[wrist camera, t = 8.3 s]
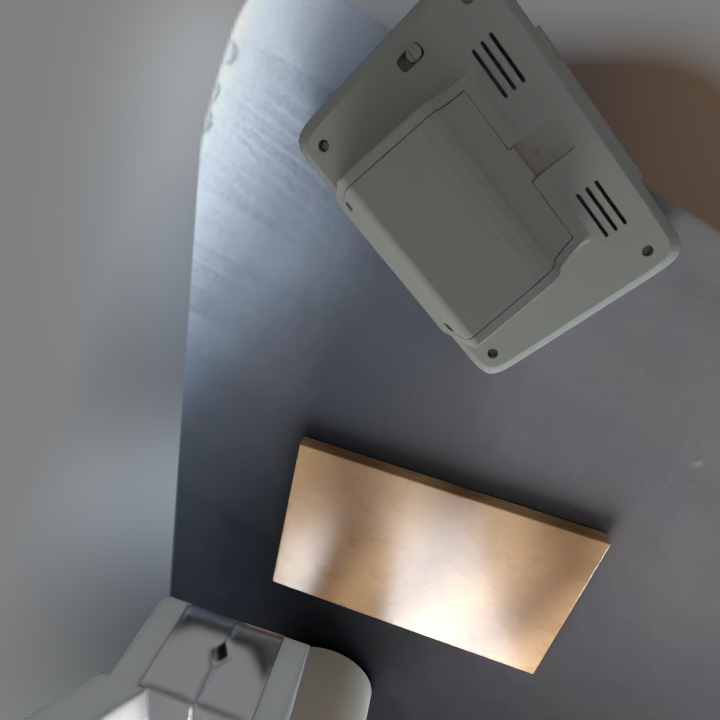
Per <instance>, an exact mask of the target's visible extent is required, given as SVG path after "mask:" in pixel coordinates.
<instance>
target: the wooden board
mask: <svg viewBox="0 0 720 720" xmlns="http://www.w3.org/2000/svg"><path fill="white" fill-rule="evenodd" d="M610 545H611V543H610V540H609V537H608V534H607V533H604V532H601V531H598V530H595V529H592V528H589V527H586V526H582V525H579V524H576V523H573V522H570V521H567V520H564V519H561V518H557V517H554V516H551V515H548V514H545V513H542V512H539V511H536V510H533V509H529V508H526V507H523V506H520V505H517V504H514V503H511V502H508V501H504V500H501V499H498V498H495V497H492V496H489V495H486V494H483V493H479V492H476V491H473V490H470V489H467V488H464V487H461V486H458V485H455V484H451V483H448V482H445V481H442V480H439V479H436V478H433V477H430V476H426V475H423V474H420V473H417V472H414V471H411V470H408V469H405V468H401V467H398V466H395V465H392V464H389V463H386V462H383V461H380V460H377V459H373V458H370V457H367V456H364V455H361V454H358V453H355V452H352V451H348V450H345V449H342V448H339V447H336V446H333V445H330V444H327V443H323V442H320V441H317V440H314V439H311V438H308V437H304V438H303V440H302V441H301V443H300V445H299V450H298V455H297V460H296V466H295V471H294V476H293V481H292V486H291V491H290V496H289V501H288V506H287V511H286V516H285V521H284V526H283V531H282V536H281V541H280V546H279V551H278V556H277V561H276V566H275V571H274V576H273V581H274V582H276V583H279V584H282V585H285V586H288V587H290V588H293V589H296V590H299V591H302V592H304V593H307V594H310V595H313V596H316V597H318V598H321V599H324V600H327V601H330V602H332V603H335V604H338V605H341V606H344V607H346V608H349V609H352V610H355V611H358V612H360V613H363V614H366V615H369V616H372V617H374V618H377V619H380V620H383V621H386V622H388V623H391V624H394V625H397V626H400V627H403V628H405V629H408V630H411V631H414V632H417V633H419V634H422V635H425V636H428V637H431V638H433V639H436V640H439V641H442V642H445V643H447V644H450V645H453V646H456V647H459V648H461V649H464V650H467V651H470V652H473V653H475V654H478V655H481V656H484V657H487V658H489V659H492V660H495V661H498V662H501V663H503V664H506V665H509V666H512V667H515V668H517V669H520V670H523V671H526V672H529V673H531V674H533V673H534V671H535V670H536V668H537V667H538V665H539V663H540V662H541V660H542V658H543V657H544V655H545V653H546V652H547V650H548V648H549V647H550V645H551V643H552V642H553V640H554V638H555V637H556V635H557V633H558V632H559V630H560V628H561V627H562V625H563V623H564V622H565V620H566V618H567V617H568V615H569V613H570V612H571V610H572V608H573V607H574V605H575V603H576V602H577V600H578V598H579V597H580V595H581V593H582V592H583V590H584V588H585V587H586V585H587V583H588V582H589V580H590V578H591V577H592V575H593V573H594V572H595V570H596V568H597V567H598V565H599V563H600V562H601V560H602V558H603V557H604V555H605V553H606V552H607V550H608V548H609V547H610Z"/></svg>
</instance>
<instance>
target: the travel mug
mask: <svg viewBox="0 0 720 720" xmlns="http://www.w3.org/2000/svg"><path fill="white" fill-rule="evenodd" d="M370 697H371V685H370V682H369V679H368V678H367V676H366V674H365V673H364V672H363V670H362V669H361V668H360V667H359V666H358V665H357V664H355V663H354V662H353V661H352V660H350V659H349V658H347V657H345V656H343V655H341V654H339V653H337V652H334V651H332V650H328V649H324V648H319V647H309V651H308V655H307V659H306V662H305V666H304V670H303V673H302V677H301V681H300V684H299V688H298V691H297V695H296V698H295V702H294V705H293V709H292V712H291V715H290V719H289V720H366V717H367V712H368V707H369V702H370Z"/></svg>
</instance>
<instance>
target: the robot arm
mask: <svg viewBox="0 0 720 720" xmlns="http://www.w3.org/2000/svg"><path fill="white" fill-rule="evenodd" d="M309 647H310V645H308V644H305V643H302V642H299V641H296V640H293V639H290V638H285V636H283V635H280V634H277V633H274V632H271V631H268V630H265V629H262V628H259V627H256V626H253V625H250V624H247V623H244V622H241V621H238V620H237V621H236V620H234V619H231V618H228V617H225V616H222V615H220V614H217V613H214V612H211V611H209V610H206V609H203V608H200V607H197V606H195V605H192V604H191V603H188V602H185V601H182V600H179V599H176V598H173V597H170V596H166V597H165V598H164V599H163V600H161V601H160V603H159V604H158V605H157V607H156V608H155V609H154V611H153V612H152V614H151V615H150V617H149V618H148V620H147V621H146V623H145V624H144V625H143V627H142V628H141V630H140V631H139V633H138V634H137V636H136V637H135V639H134V640H133V641H132V643H131V644H130V646H129V647H128V649H127V650H126V652H125V653H124V655H123V656H122V658H121V659H120V661H119V662H118V663H117V665H116V666H115V668H114V669H113V671H112V672H111V674H110V675H109V674H106V673H100V674H99V675H97V676H95V677H94V678H92V679H90V680H88V681H87V682H85V683H84V684H82V685H80V686H78V687H77V688H75V689H73V690H72V691H70V692H68V693H67V694H65V695H63V696H62V697H60V698H58V699H57V700H55V701H53V702H51V703H50V704H48V705H46V706H45V707H43V708H41V709H40V710H38V711H36V712H35V713H33V714H31V715H30V716H28V717H26V718H24V719H23V720H289V719H290V715H291V712H292V709H293V705H294V702H295V698H296V695H297V691H298V688H299V684H300V681H301V677H302V673H303V670H304V666H305V662H306V659H307V655H308V651H309Z"/></svg>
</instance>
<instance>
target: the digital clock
mask: <svg viewBox="0 0 720 720" xmlns="http://www.w3.org/2000/svg"><path fill="white" fill-rule="evenodd" d="M299 144H300V149H301V151H302V153H303V155H304V157H305V158H306V159H307V161H308V162H309V164H310V165H311V166H312V167H313V168H314V170H315V171H316V172H317V173H318V175H319V176H320V177H321V178H322V179H323V181H324V182H325V183H326V184H327V186H328V187H329V188H330V189H331V190H332V192H333V193H334V194H335V195H336V203H337V204H338V206H339V207H340V208H341V209H342V210H343V212H344V213H345V214H346V215H347V216H348V218H349V219H350V220H351V221H352V222H353V224H354V225H355V226H356V227H357V228H358V230H359V231H360V232H361V233H362V235H363V236H364V237H365V238H366V239H367V241H368V242H369V243H370V244H371V245H372V247H373V248H374V249H375V250H376V251H377V253H378V254H379V255H380V256H381V257H382V259H383V260H384V261H385V262H386V263H387V265H388V266H389V267H390V268H391V270H392V271H393V272H394V273H395V274H396V276H397V277H398V278H399V279H400V280H401V282H402V283H403V284H404V285H405V286H406V288H407V289H408V290H409V291H410V292H411V294H412V295H413V296H414V297H415V298H416V300H417V301H418V302H419V303H420V305H421V306H422V307H423V308H424V309H425V311H426V312H427V313H428V314H429V315H430V317H431V318H432V319H433V320H434V321H435V323H436V324H437V325H438V326H439V327H440V329H441V330H442V331H443V332H445V333H447V334H448V335H450V336H452V337H453V338H454V339H455V341H456V342H457V343H458V344H459V345H460V347H461V348H462V349H463V350H464V351H465V353H466V354H467V355H468V356H469V357H470V359H471V360H472V361H473V362H474V363H475V364H476V365H477V366H478V367H479V368H480V369H482V370H483V371H485V372H487V373H497V372H500V371H503V370H505V369H507V368H508V367H510V366H512V365H514V364H515V363H517V362H518V361H520V360H521V359H523V358H525V357H526V356H528V355H529V354H531V353H533V352H534V351H536V350H537V349H539V348H540V347H542V346H544V345H545V344H547V343H548V342H550V341H551V340H553V339H555V338H556V337H558V336H559V335H561V334H563V333H564V332H566V331H567V330H569V329H570V328H572V327H574V326H575V325H577V324H578V323H580V322H581V321H583V320H585V319H586V318H588V317H589V316H591V315H593V314H594V313H596V312H597V311H599V310H600V309H602V308H604V307H605V306H607V305H608V304H610V303H611V302H613V301H615V300H616V299H618V298H619V297H621V296H623V295H624V294H626V293H627V292H629V291H630V290H632V289H634V288H635V287H637V286H638V285H640V284H641V283H643V282H645V281H646V280H648V279H649V278H651V277H652V276H654V275H655V274H657V273H658V272H660V271H661V270H663V269H664V268H665V267H667V266H668V265H669V264H671V263H672V262H673V261H674V260H675V259H676V258H677V256H678V254H679V253H680V240H679V237H678V235H677V233H676V231H675V229H674V228H673V226H672V225H671V223H670V222H669V220H668V219H667V218H666V216H665V215H664V213H663V212H662V210H661V209H660V207H659V206H658V205H657V203H656V202H655V200H654V199H653V197H652V196H651V194H650V193H649V192H648V190H647V189H646V187H645V186H644V184H643V183H642V181H641V178H642V177H643V174H642V173H641V172H640V170H639V168H638V167H637V166H636V164H635V163H634V161H633V160H632V158H631V157H630V156H629V154H628V153H627V151H626V150H625V148H624V147H623V145H622V144H621V143H620V141H619V140H618V138H617V137H616V135H615V134H614V132H613V131H612V129H611V128H610V127H609V125H608V124H607V122H606V121H605V119H604V118H603V116H602V115H601V113H600V112H599V111H598V109H597V108H596V106H595V105H594V103H593V102H592V100H591V99H590V98H589V96H588V95H587V93H586V92H585V90H584V89H583V88H582V86H581V85H580V83H579V82H578V80H577V79H576V77H575V76H574V75H573V73H572V72H571V70H570V69H569V67H568V66H567V64H566V63H565V61H564V60H563V59H562V57H561V56H560V54H559V53H558V51H557V50H556V48H555V47H554V45H553V44H552V43H551V41H550V40H549V39H548V37H547V35H546V34H545V33H544V31H543V30H542V28H541V27H540V26H538V27H536V28H535V27H534V26H533V24H532V23H531V22H530V20H529V19H528V17H527V16H526V14H525V13H524V12H523V10H522V9H521V7H520V6H519V4H518V3H517V1H516V0H420V1H419V2H418V3H417V4H416V5H415V6H414V7H413V9H411V11H410V12H409V13H408V14H407V15H406V16H405V17H404V18H403V19H402V20H401V22H399V24H398V25H397V26H396V27H395V28H394V29H393V30H392V31H391V32H390V33H389V34H388V35H387V37H386V38H385V39H384V40H383V41H382V42H381V43H380V44H379V45H378V46H377V47H376V48H375V50H374V51H373V52H372V53H371V54H370V55H369V56H368V57H367V58H366V59H365V60H364V61H363V63H362V64H361V65H360V66H359V67H358V68H357V69H356V70H355V71H354V72H353V73H352V74H351V76H350V77H349V78H348V79H347V80H346V81H345V82H344V83H343V84H342V85H341V86H340V87H339V89H338V90H337V91H336V92H335V93H334V94H333V95H332V96H331V97H330V98H329V99H328V100H327V102H326V103H325V104H324V105H323V106H322V107H321V108H320V109H319V110H318V111H317V112H316V113H315V115H314V116H313V117H312V118H311V119H310V120H309V122H308V123H307V124H306V125H305V127H304V128H303V130H302V132H301V134H300V138H299Z"/></svg>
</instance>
